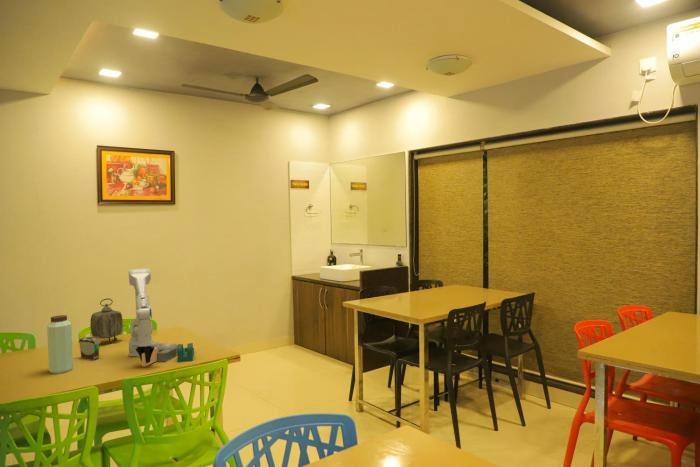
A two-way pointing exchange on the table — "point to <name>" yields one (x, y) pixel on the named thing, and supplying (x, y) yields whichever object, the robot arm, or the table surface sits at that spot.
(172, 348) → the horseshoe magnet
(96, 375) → the table surface
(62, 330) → the water bottle
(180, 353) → the bracket
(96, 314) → the tabletop clock
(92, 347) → the food container
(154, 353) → the orange wooden slat
